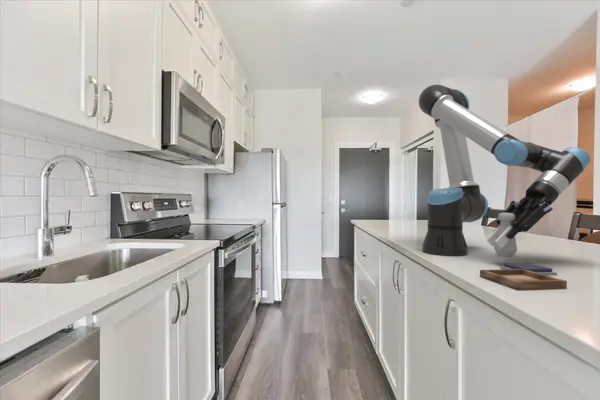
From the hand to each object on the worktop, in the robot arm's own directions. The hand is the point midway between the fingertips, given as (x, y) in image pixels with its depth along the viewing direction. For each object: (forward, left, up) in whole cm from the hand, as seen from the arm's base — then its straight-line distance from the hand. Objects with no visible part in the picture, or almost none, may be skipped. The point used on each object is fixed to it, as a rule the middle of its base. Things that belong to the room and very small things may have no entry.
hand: (494, 243), depth 97 cm
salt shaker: (0, +4, -4) cm, 6 cm away
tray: (+19, -8, -6) cm, 22 cm away
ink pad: (+9, +3, -6) cm, 11 cm away
